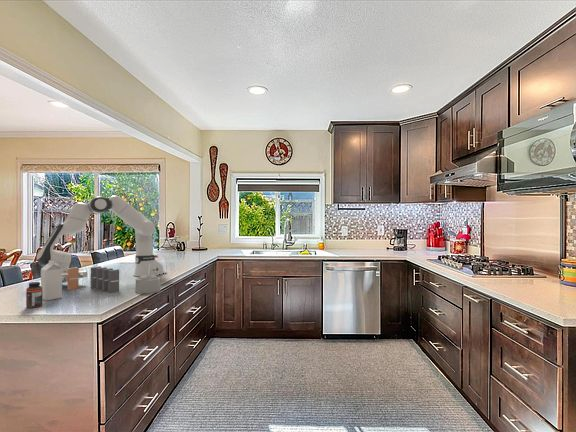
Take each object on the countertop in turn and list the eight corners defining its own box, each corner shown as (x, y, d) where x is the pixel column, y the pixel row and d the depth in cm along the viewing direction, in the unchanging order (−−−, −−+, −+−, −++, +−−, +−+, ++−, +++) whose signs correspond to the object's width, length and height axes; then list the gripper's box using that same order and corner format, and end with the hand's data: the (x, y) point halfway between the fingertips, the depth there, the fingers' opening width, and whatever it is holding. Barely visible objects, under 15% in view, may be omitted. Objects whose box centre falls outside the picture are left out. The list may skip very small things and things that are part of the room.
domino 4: (108, 292, 182) (108, 270, 182) (117, 290, 186) (117, 269, 186) (110, 292, 181) (110, 270, 181) (119, 291, 185) (119, 269, 185)
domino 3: (102, 290, 186) (102, 269, 186) (111, 289, 190) (111, 268, 190) (104, 291, 185) (104, 269, 185) (112, 289, 189) (113, 268, 189)
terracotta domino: (67, 289, 189) (67, 268, 189) (76, 287, 193) (76, 267, 193) (68, 289, 188) (69, 268, 188) (78, 288, 192) (78, 267, 192)
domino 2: (96, 289, 189) (96, 268, 189) (105, 287, 194) (105, 267, 194) (98, 289, 188) (98, 268, 188) (106, 288, 192) (107, 267, 192)
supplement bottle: (23, 307, 152) (24, 282, 152) (39, 304, 157) (39, 280, 157) (29, 309, 149) (29, 284, 149) (44, 306, 154) (44, 282, 154)
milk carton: (45, 301, 163) (45, 262, 163) (40, 298, 168) (40, 261, 168) (62, 298, 169) (62, 261, 169) (56, 296, 173) (57, 259, 173)
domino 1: (90, 287, 193) (90, 267, 193) (99, 286, 197) (99, 266, 197) (92, 288, 192) (92, 267, 192) (101, 286, 196) (101, 266, 196)
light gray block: (145, 288, 193) (145, 273, 193) (164, 289, 190) (165, 274, 190) (132, 292, 183) (133, 276, 183) (153, 294, 180) (153, 278, 180)
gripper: (42, 272, 189) (52, 274, 181) (80, 267, 206) (92, 269, 198) (42, 283, 189) (52, 286, 181) (80, 277, 206) (92, 280, 198)
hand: (73, 277), depth 190 cm, fingers open, 8 cm apart
